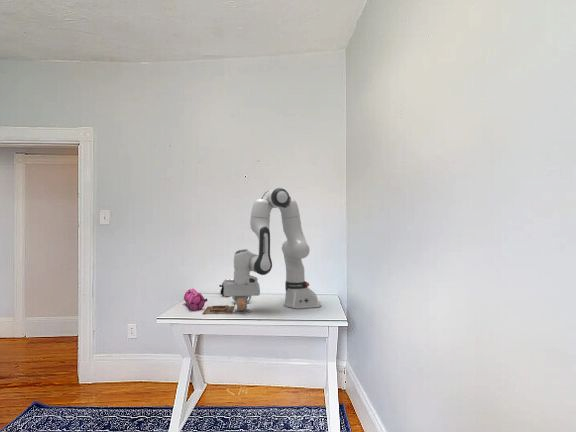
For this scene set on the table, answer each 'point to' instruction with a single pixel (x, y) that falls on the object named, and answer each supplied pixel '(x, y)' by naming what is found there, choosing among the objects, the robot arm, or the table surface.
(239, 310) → the mat
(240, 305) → the toggle lever handle
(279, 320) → the table surface
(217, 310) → the socket board
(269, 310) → the table surface
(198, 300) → the pencil case
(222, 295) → the film camera
